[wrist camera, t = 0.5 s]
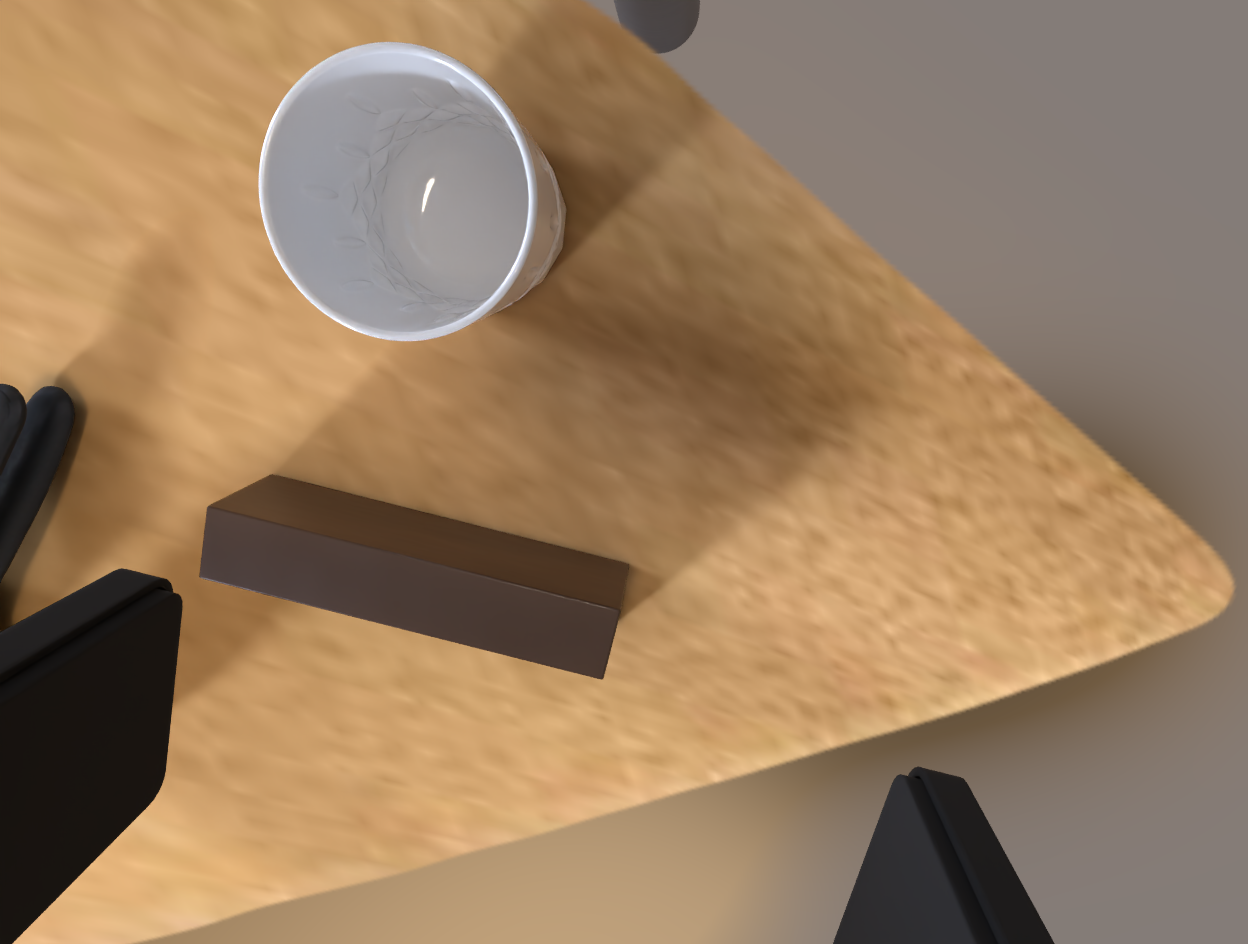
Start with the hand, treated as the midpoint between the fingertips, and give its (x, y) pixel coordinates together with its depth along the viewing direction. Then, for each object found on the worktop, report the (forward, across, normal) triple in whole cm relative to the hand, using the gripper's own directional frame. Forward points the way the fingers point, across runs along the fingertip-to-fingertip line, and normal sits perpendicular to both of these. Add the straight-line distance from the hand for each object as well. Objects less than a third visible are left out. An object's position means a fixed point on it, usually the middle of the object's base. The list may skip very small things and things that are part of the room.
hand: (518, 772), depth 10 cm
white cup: (+25, +8, -6) cm, 27 cm away
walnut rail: (+24, +7, +8) cm, 26 cm away
